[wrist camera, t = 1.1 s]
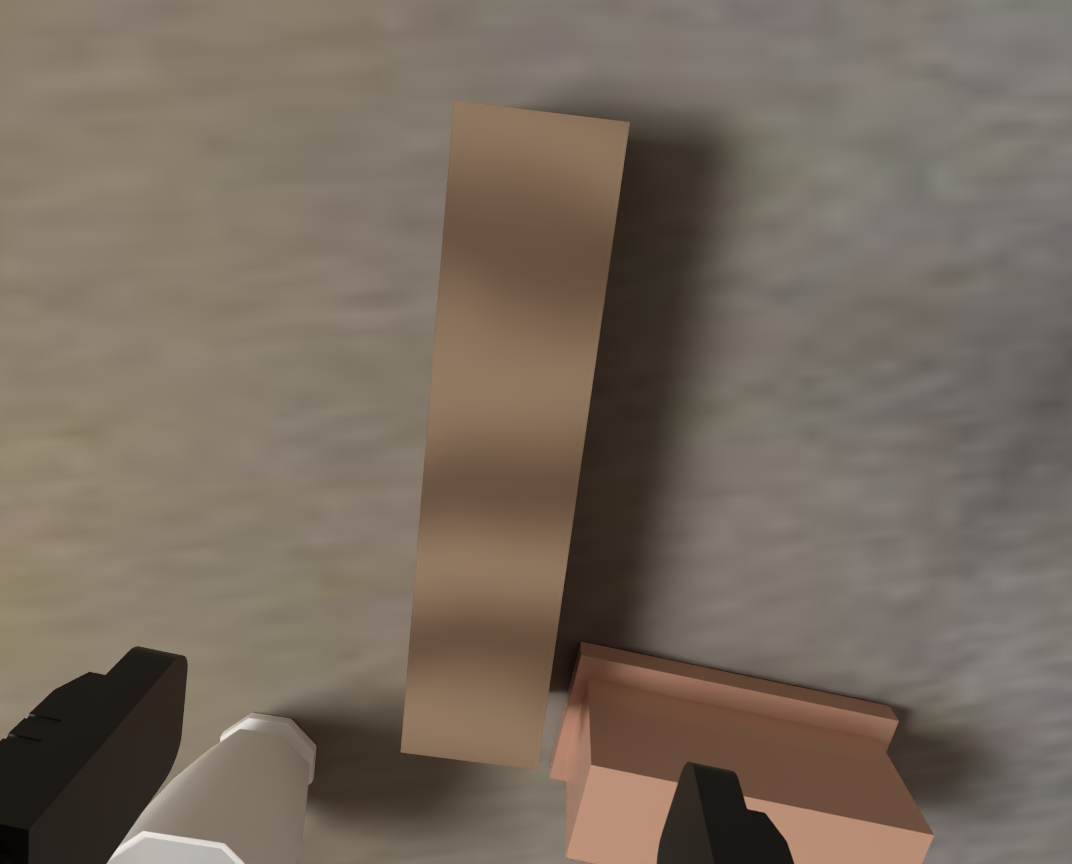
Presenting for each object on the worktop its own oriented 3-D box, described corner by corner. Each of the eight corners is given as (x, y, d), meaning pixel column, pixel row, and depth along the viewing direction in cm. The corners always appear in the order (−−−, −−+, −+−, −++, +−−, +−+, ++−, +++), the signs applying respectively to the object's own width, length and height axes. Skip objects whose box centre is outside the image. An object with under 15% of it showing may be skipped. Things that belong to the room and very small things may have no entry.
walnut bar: (474, 119, 27) (454, 100, 22) (619, 137, 27) (629, 122, 22) (425, 672, 33) (400, 752, 28) (542, 688, 33) (537, 770, 28)
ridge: (580, 641, 32) (583, 737, 26) (889, 705, 32) (958, 814, 26) (550, 761, 34) (546, 876, 28) (843, 821, 34) (899, 948, 28)
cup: (376, 734, 34) (318, 892, 26) (277, 888, 36) (198, 1074, 28) (229, 657, 33) (124, 796, 25) (139, 821, 35) (19, 993, 28)
